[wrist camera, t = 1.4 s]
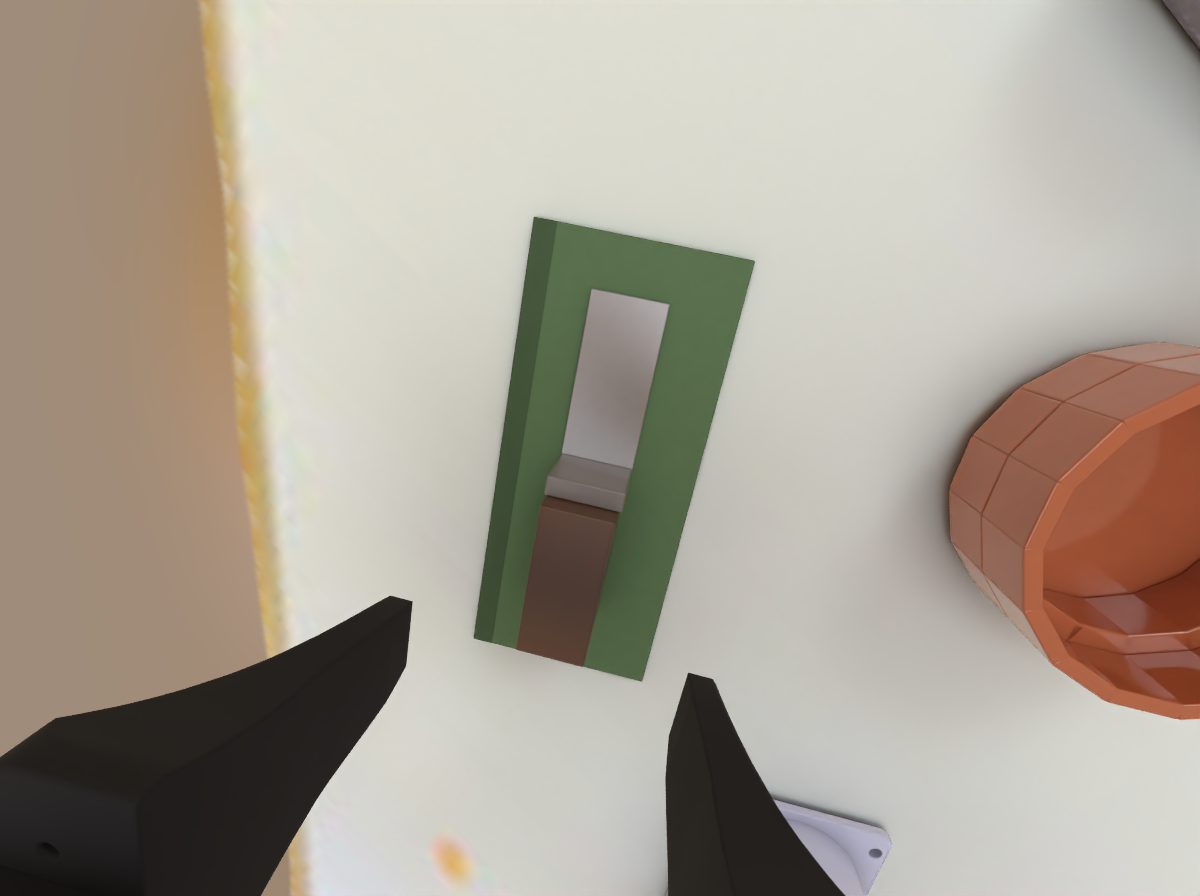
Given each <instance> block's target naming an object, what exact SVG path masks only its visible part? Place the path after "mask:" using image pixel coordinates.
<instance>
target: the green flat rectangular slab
mask: <svg viewBox="0 0 1200 896" xmlns="http://www.w3.org/2000/svg"><path fill="white" fill-rule="evenodd" d="M754 263H755V262H754V261H752V260H747V259H742V258H737V257H732V256H727V255H722V254H717V253H712V252H707V251H702V250H697V249H692V248H687V247H682V246H677V245H672V244H667V243H662V242H657V241H652V240H647V239H642V238H637V237H632V236H627V235H622V234H617V233H612V232H607V231H602V230H597V229H592V228H587V227H582V226H577V225H572V224H567V223H562V222H557V221H553V220H548V219H543V218H538V217H534V220H533V227H532V234H531V241H530V248H529V255H528V262H527V269H526V276H525V283H524V290H523V297H522V304H521V311H520V318H519V325H518V332H517V339H516V346H515V353H514V360H513V367H512V374H511V381H510V388H509V395H508V402H507V409H506V416H505V423H504V430H503V437H502V444H501V451H500V458H499V465H498V472H497V479H496V486H495V493H494V500H493V507H492V514H491V521H490V528H489V535H488V542H487V549H486V556H485V563H484V570H483V577H482V584H481V591H480V597H479V604H478V611H477V618H476V625H475V632H474V638H475V639H478V640H482V641H486V642H490V643H495V644H499V645H503V646H507V647H510V648H514V649H516V644H517V639H518V633H519V627H520V621H521V616H522V610H523V604H524V598H525V593H526V587H527V581H528V575H529V570H530V564H531V558H532V552H533V546H534V541H535V535H536V529H537V523H538V518H539V512H540V506H541V505H542V503H543V502H544V500H545V498H546V497H547V495H545V494H544V490H545V484H546V479H547V476H548V474H549V473H550V471H551V470H552V468H553V467H554V465H555V464H556V462H557V461H558V459H559V458H560V456H561V455H562V448H563V443H564V437H565V431H566V426H567V420H568V415H569V409H570V404H571V398H572V393H573V387H574V382H575V376H576V371H577V365H578V360H579V354H580V349H581V343H582V338H583V332H584V327H585V321H586V316H587V310H588V304H589V299H590V293H591V289H592V288H595V289H600V290H604V291H609V292H614V293H619V294H624V295H628V296H633V297H638V298H643V299H648V300H652V301H657V302H662V303H667V304H669V305H670V306H669V310H668V315H667V319H666V323H665V328H664V332H663V337H662V341H661V345H660V350H659V354H658V359H657V363H656V367H655V372H654V376H653V381H652V385H651V389H650V394H649V398H648V403H647V407H646V412H645V416H644V420H643V425H642V429H641V434H640V438H639V442H638V447H637V451H636V456H635V460H634V464H633V469H632V473H631V478H630V482H629V486H628V490H627V494H626V498H625V502H624V506H623V510H622V512H620V514H619V518H618V523H617V527H616V531H615V536H614V540H613V545H612V549H611V554H610V558H609V563H608V567H607V571H606V576H605V580H604V585H603V589H602V594H601V598H600V603H599V607H598V611H597V615H596V619H595V623H594V627H593V631H592V635H591V639H590V643H589V648H588V652H587V656H586V660H585V664H584V667H588V668H591V669H595V670H599V671H603V672H607V673H611V674H614V675H618V676H622V677H626V678H630V679H634V680H638V681H642V679H643V676H644V672H645V668H646V665H647V661H648V657H649V653H650V650H651V646H652V642H653V639H654V635H655V631H656V627H657V624H658V620H659V616H660V612H661V609H662V605H663V601H664V598H665V594H666V590H667V586H668V583H669V579H670V575H671V572H672V568H673V564H674V560H675V557H676V553H677V549H678V545H679V542H680V538H681V534H682V531H683V527H684V523H685V519H686V516H687V512H688V508H689V505H690V501H691V497H692V493H693V490H694V486H695V482H696V478H697V475H698V471H699V467H700V464H701V460H702V456H703V452H704V449H705V445H706V441H707V438H708V434H709V430H710V426H711V423H712V419H713V415H714V411H715V408H716V404H717V400H718V397H719V393H720V389H721V385H722V382H723V378H724V374H725V371H726V367H727V363H728V359H729V356H730V352H731V348H732V344H733V341H734V337H735V333H736V330H737V326H738V322H739V318H740V315H741V311H742V307H743V304H744V300H745V296H746V292H747V289H748V285H749V281H750V277H751V274H752V270H753V266H754Z"/></svg>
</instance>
